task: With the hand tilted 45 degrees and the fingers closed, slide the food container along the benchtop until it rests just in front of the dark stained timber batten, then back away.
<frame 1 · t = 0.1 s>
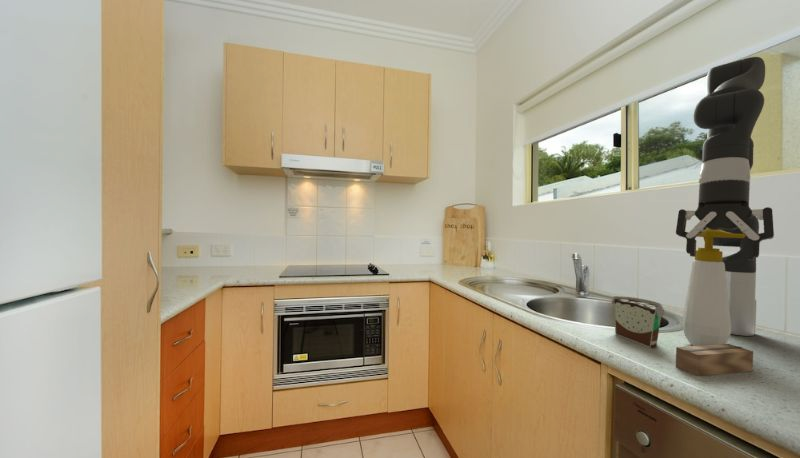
hand: (720, 258, 65), 22 cm above the worktop, tool pointing down, fingers open, 8 cm apart
food container: (641, 341, 79), on the worktop
soap bottle: (711, 349, 75), on the worktop
timber batten: (713, 368, 63), on the worktop
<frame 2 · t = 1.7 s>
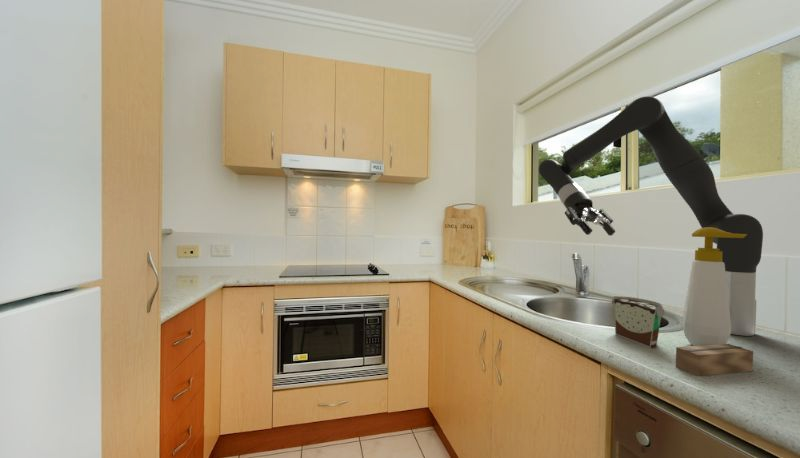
hand: (601, 233, 96), 27 cm above the worktop, tool tilted 45°, fingers open, 8 cm apart
nothing on the worktop moved.
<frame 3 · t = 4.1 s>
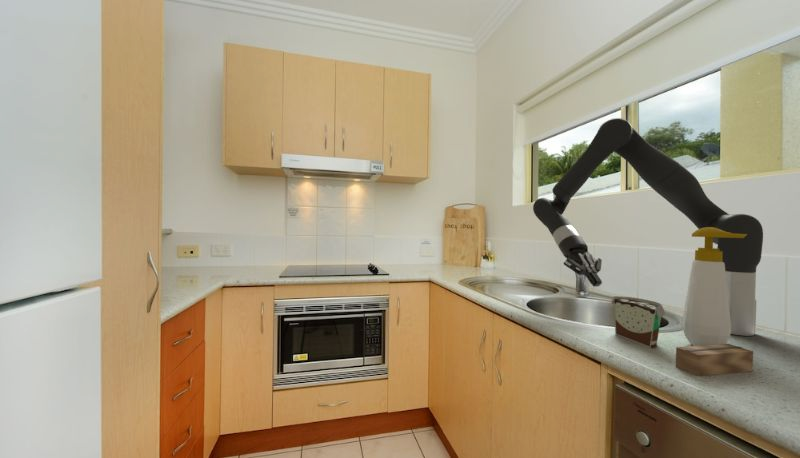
hand: (598, 284, 93), 11 cm above the worktop, tool tilted 45°, fingers closed
nothing on the worktop moved.
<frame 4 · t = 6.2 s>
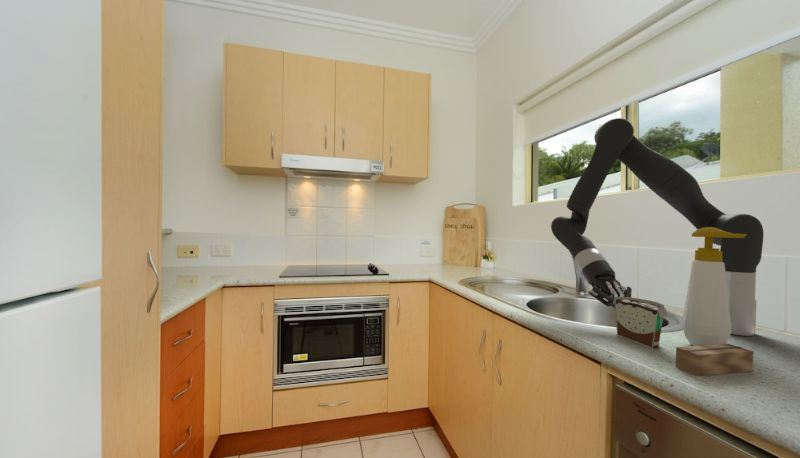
hand: (629, 319, 82), 4 cm above the worktop, tool tilted 45°, fingers closed
food container: (643, 341, 78), on the worktop, touching gripper
everything else where it was.
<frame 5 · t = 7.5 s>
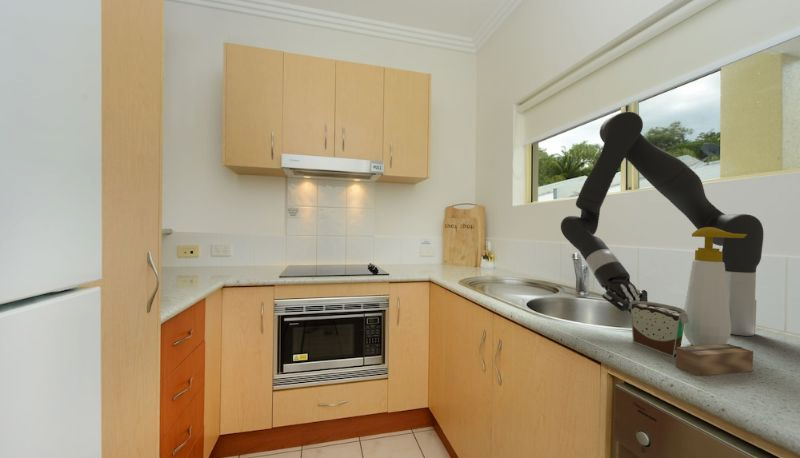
hand: (646, 324, 78), 4 cm above the worktop, tool tilted 45°, fingers closed
food container: (662, 349, 74), on the worktop, touching gripper
everything else where it was.
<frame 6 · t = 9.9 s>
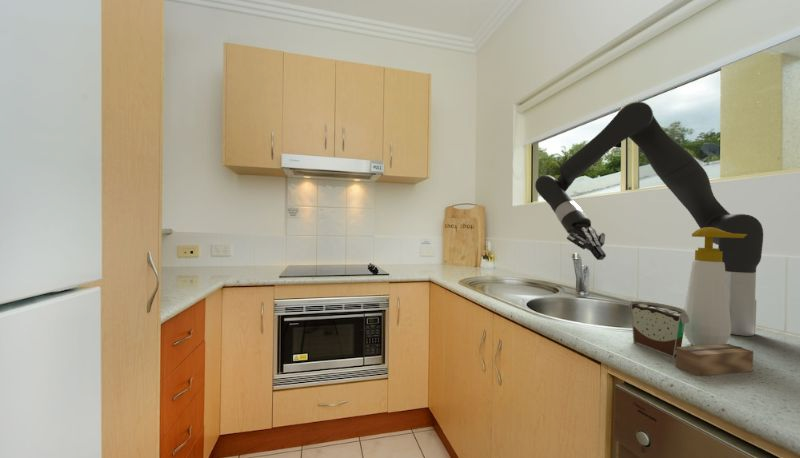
hand: (602, 258, 91), 20 cm above the worktop, tool tilted 45°, fingers closed
food container: (662, 349, 74), on the worktop
everything else where it was.
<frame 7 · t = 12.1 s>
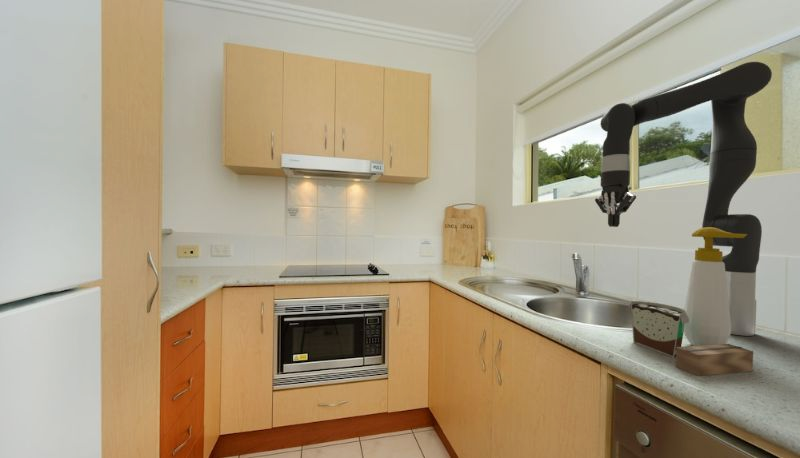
hand: (613, 226, 97), 29 cm above the worktop, tool pointing down, fingers closed
nothing on the worktop moved.
at the end: food container inside the target area (2.4 cm from its centre), on the worktop; food container tilted 0° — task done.
